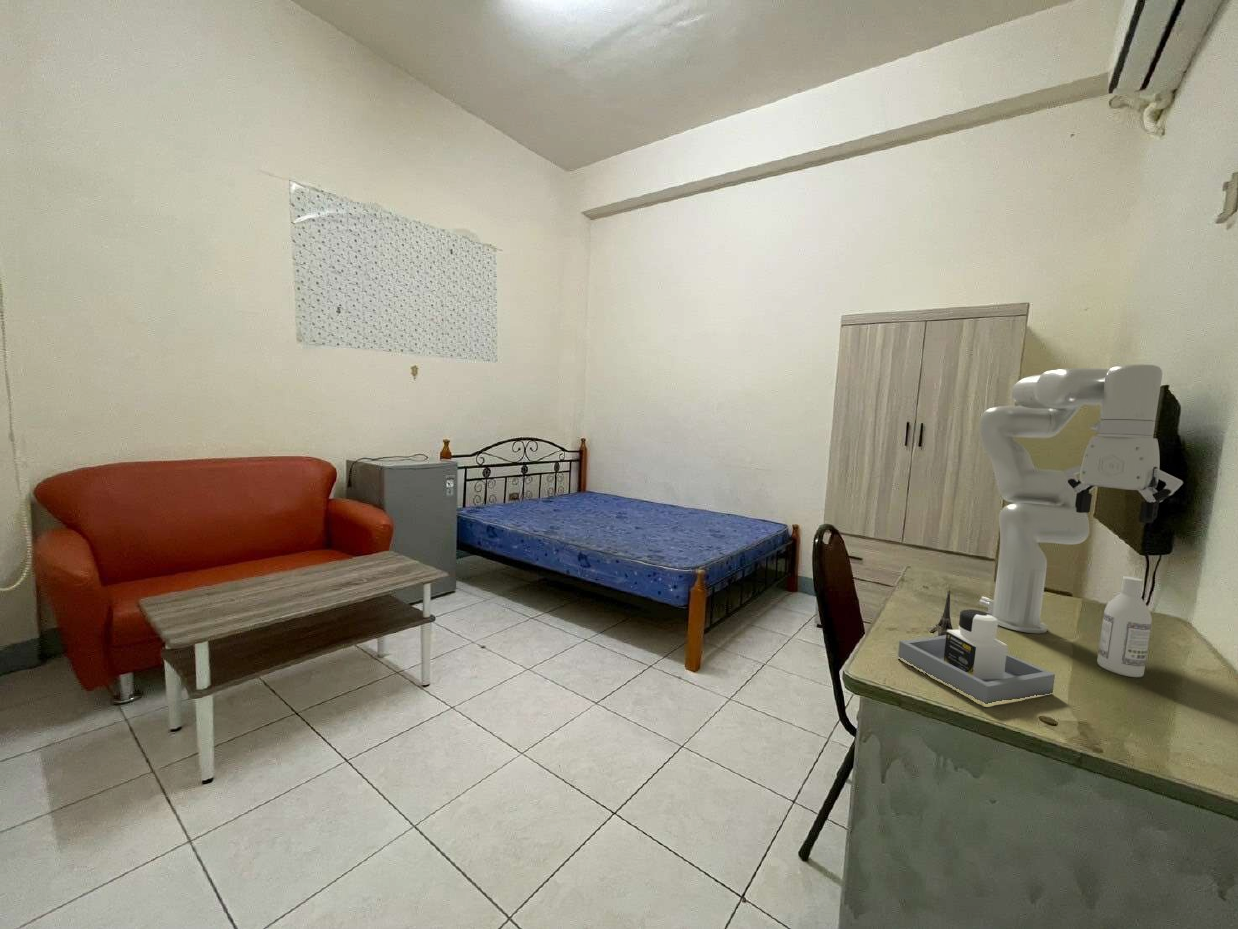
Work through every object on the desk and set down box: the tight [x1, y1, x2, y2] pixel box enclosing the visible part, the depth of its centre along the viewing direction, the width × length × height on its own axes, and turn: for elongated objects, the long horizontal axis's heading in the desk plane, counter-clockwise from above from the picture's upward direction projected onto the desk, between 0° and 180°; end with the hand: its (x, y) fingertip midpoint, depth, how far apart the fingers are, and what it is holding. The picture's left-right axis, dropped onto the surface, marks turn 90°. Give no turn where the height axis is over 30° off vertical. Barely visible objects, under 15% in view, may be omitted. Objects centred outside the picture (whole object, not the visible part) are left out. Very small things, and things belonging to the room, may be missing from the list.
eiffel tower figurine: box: [928, 586, 954, 636], centre depth 113 cm, size 15×10×13 cm
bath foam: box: [1096, 575, 1153, 678], centre depth 102 cm, size 7×7×20 cm
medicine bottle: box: [943, 609, 1008, 680], centre depth 96 cm, size 7×7×12 cm
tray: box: [897, 635, 1056, 704], centre depth 97 cm, size 18×18×4 cm
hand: (1112, 517), depth 95 cm, fingers open, 9 cm apart
